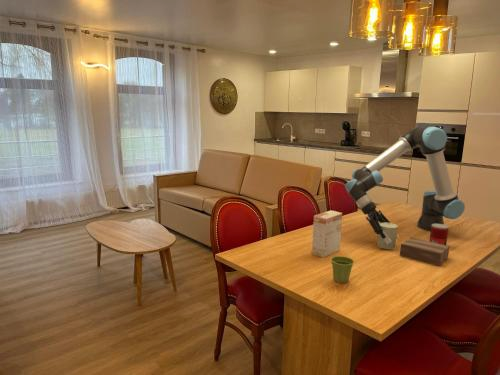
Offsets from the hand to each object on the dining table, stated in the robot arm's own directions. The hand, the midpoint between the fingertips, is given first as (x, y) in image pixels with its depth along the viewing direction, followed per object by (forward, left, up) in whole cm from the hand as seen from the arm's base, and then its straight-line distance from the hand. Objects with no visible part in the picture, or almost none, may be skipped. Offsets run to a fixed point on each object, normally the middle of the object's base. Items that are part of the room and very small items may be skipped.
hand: (393, 240), depth 191 cm
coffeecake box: (+30, -21, -4) cm, 37 cm away
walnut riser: (+1, +16, -4) cm, 16 cm away
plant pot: (+53, 0, -4) cm, 53 cm away
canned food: (-21, +16, -4) cm, 27 cm away
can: (0, -3, -4) cm, 5 cm away
